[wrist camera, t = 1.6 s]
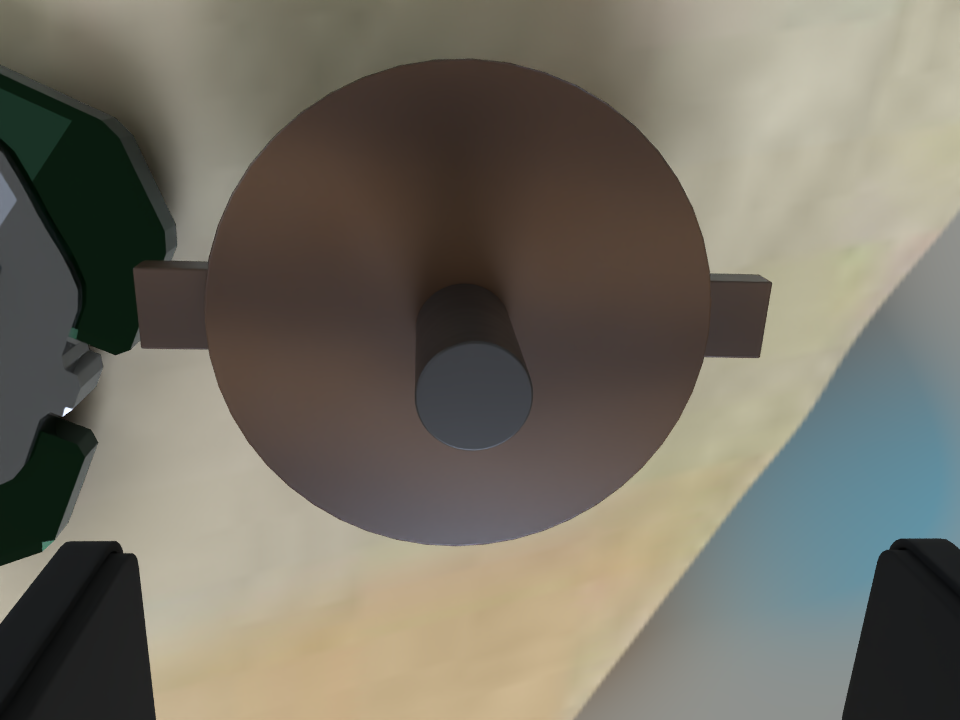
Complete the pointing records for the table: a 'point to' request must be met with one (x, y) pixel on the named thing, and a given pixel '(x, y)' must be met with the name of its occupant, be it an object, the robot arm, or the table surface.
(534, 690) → the table surface
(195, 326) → the two-handled cooking pot
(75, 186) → the four-lobed dark green device
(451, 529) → the lid
